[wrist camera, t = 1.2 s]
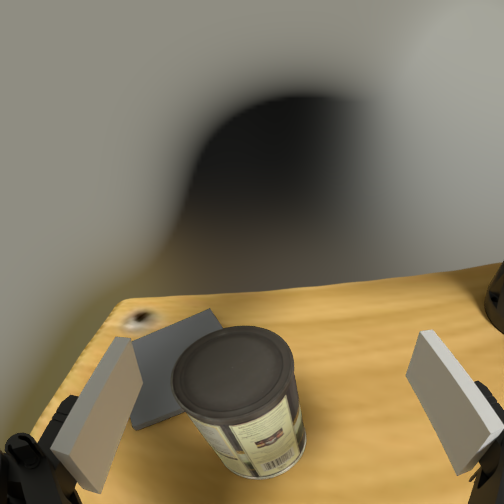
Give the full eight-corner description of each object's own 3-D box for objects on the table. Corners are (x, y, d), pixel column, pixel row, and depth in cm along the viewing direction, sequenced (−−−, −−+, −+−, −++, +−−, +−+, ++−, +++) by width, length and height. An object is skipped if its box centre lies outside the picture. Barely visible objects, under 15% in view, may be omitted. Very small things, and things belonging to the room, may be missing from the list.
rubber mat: (211, 312, 54) (209, 308, 53) (256, 378, 39) (255, 374, 38) (119, 351, 48) (117, 347, 48) (136, 430, 33) (132, 426, 33)
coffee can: (251, 394, 36) (222, 313, 30) (323, 425, 30) (316, 344, 24) (199, 452, 30) (146, 382, 23) (272, 495, 24) (240, 443, 17)
